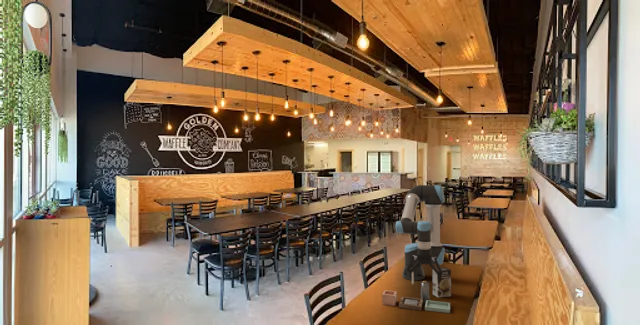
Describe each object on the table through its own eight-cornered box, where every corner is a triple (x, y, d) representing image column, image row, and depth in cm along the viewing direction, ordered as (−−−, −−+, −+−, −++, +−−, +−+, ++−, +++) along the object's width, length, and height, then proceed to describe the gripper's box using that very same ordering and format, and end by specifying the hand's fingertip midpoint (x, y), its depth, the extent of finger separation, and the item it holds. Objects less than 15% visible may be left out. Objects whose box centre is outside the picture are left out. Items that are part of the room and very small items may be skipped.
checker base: (401, 299, 219) (401, 296, 219) (422, 302, 215) (422, 298, 215) (398, 307, 208) (398, 304, 208) (421, 310, 204) (421, 306, 204)
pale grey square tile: (405, 300, 216) (405, 299, 216) (418, 302, 214) (418, 300, 214) (404, 305, 210) (404, 303, 210) (416, 306, 207) (416, 305, 207)
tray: (426, 303, 214) (426, 300, 214) (450, 306, 209) (450, 302, 209) (424, 310, 204) (424, 306, 204) (449, 313, 200) (449, 309, 200)
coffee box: (438, 298, 222) (438, 271, 221) (432, 294, 228) (432, 268, 228) (451, 296, 224) (451, 269, 224) (445, 292, 230) (445, 266, 230)
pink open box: (384, 300, 219) (384, 290, 219) (396, 301, 217) (396, 291, 217) (382, 304, 213) (382, 294, 213) (394, 306, 210) (394, 295, 210)
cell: (421, 299, 220) (421, 279, 220) (429, 300, 218) (429, 280, 218) (420, 302, 216) (420, 282, 215) (428, 303, 214) (428, 282, 214)
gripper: (401, 248, 217) (402, 284, 217) (446, 251, 209) (447, 288, 209) (403, 245, 224) (403, 280, 224) (447, 248, 216) (447, 284, 216)
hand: (424, 284), depth 216 cm, fingers open, 13 cm apart
